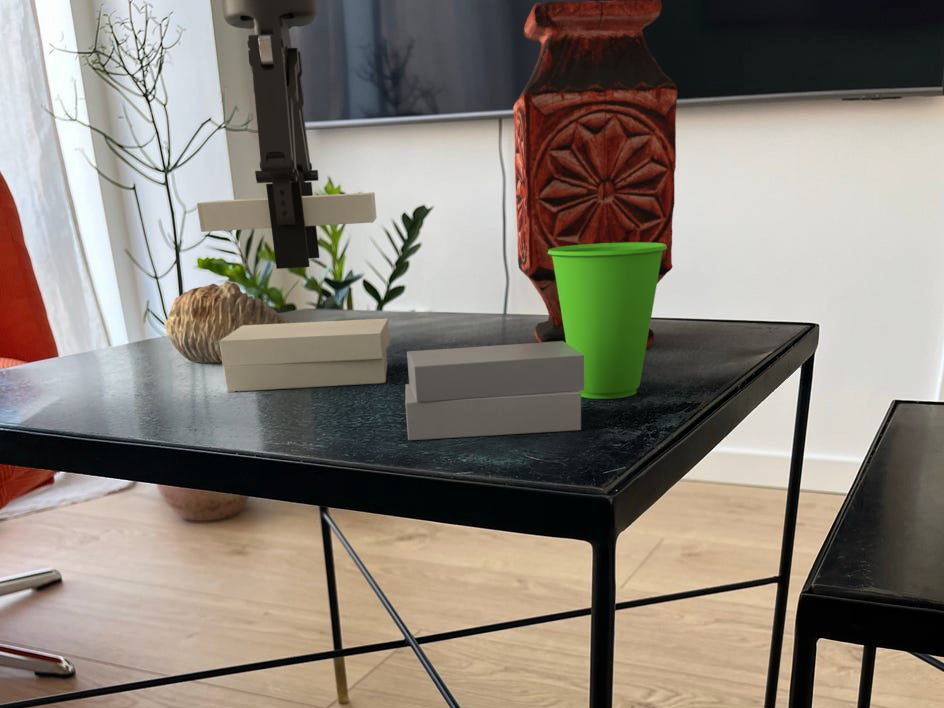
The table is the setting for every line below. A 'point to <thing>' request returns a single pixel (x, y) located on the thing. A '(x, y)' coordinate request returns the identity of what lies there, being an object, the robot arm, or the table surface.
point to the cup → (608, 310)
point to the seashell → (213, 319)
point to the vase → (592, 140)
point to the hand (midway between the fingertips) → (299, 262)
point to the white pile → (305, 355)
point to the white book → (314, 208)
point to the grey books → (494, 390)
